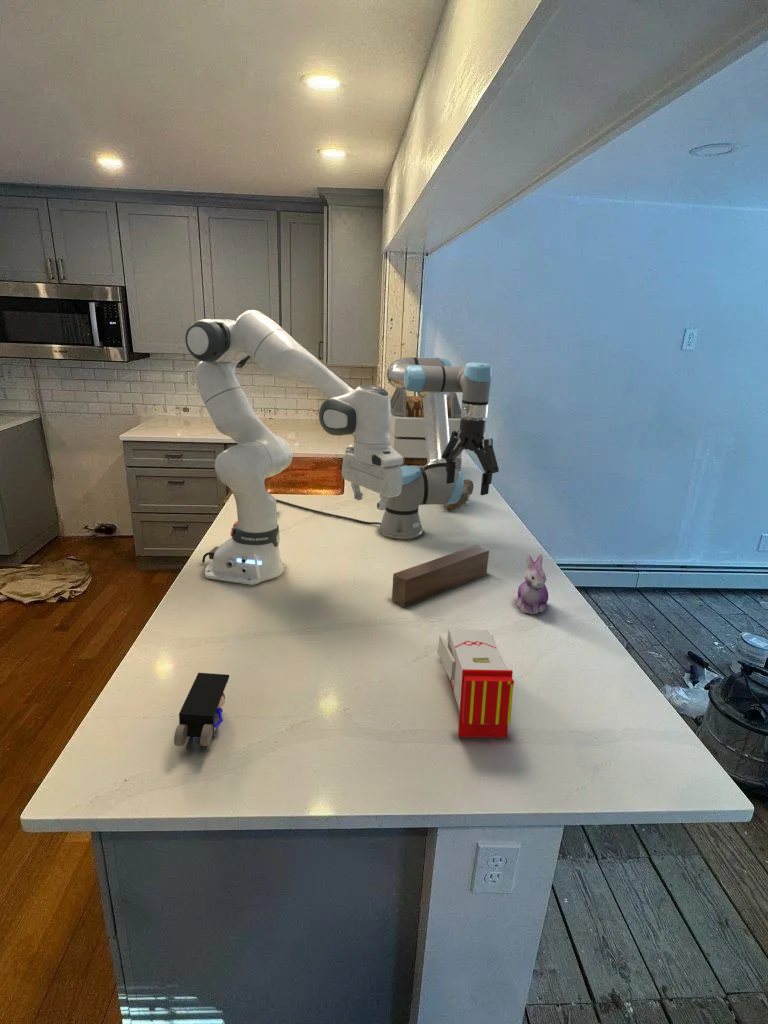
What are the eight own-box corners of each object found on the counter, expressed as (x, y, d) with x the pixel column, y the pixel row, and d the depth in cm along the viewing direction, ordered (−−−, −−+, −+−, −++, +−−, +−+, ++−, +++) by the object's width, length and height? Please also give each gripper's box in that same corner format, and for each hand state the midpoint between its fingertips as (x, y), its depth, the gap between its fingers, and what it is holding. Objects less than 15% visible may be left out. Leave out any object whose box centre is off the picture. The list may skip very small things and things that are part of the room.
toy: (488, 613, 130) (523, 677, 101) (484, 667, 133) (517, 744, 104) (435, 612, 130) (455, 676, 101) (432, 666, 133) (451, 743, 103)
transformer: (382, 463, 289) (386, 382, 275) (445, 464, 293) (451, 384, 279) (390, 482, 257) (394, 392, 243) (460, 483, 261) (468, 394, 247)
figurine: (531, 619, 148) (539, 566, 143) (506, 601, 156) (512, 551, 151) (558, 611, 152) (567, 560, 147) (532, 595, 160) (539, 546, 155)
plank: (391, 600, 154) (393, 573, 152) (473, 568, 176) (476, 544, 173) (404, 607, 151) (405, 580, 148) (486, 574, 172) (489, 550, 169)
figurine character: (213, 763, 99) (233, 700, 112) (209, 732, 95) (230, 670, 109) (174, 763, 99) (198, 699, 112) (169, 731, 95) (194, 669, 109)
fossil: (437, 485, 243) (466, 466, 238) (450, 501, 245) (479, 483, 240) (436, 507, 223) (469, 487, 218) (450, 525, 226) (482, 505, 221)
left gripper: (336, 445, 147) (335, 495, 152) (388, 462, 132) (385, 518, 137) (355, 442, 151) (354, 491, 155) (408, 459, 136) (404, 513, 141)
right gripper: (433, 412, 170) (428, 480, 177) (499, 427, 152) (491, 501, 159) (450, 410, 175) (445, 476, 182) (516, 424, 157) (507, 497, 164)
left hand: (369, 504), depth 146 cm, fingers open, 8 cm apart
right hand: (466, 488), depth 171 cm, fingers open, 13 cm apart
